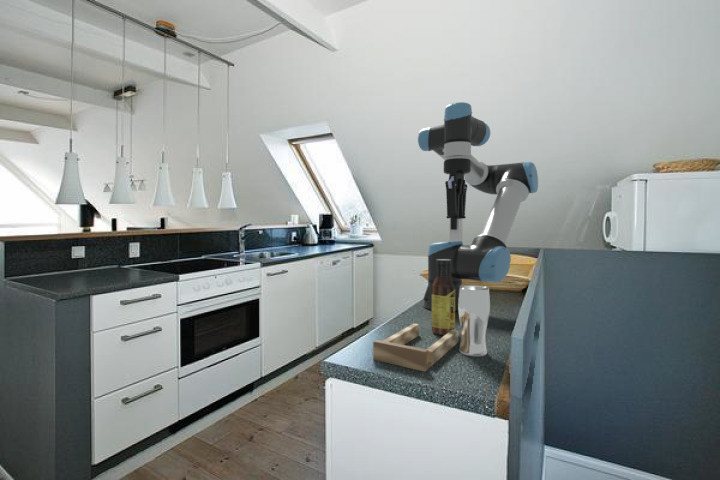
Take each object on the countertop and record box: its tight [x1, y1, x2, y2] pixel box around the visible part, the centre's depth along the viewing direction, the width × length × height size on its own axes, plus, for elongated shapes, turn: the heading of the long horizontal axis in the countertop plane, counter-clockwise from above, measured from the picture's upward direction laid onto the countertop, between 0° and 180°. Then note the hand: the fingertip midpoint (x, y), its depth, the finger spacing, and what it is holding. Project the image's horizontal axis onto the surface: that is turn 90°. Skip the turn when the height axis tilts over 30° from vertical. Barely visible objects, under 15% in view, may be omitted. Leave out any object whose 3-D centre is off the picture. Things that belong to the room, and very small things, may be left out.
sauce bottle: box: [431, 259, 456, 336], centre depth 100 cm, size 6×6×20 cm
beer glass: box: [457, 284, 491, 358], centre depth 85 cm, size 7×7×15 cm
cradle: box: [372, 323, 459, 372], centre depth 87 cm, size 22×12×4 cm, turn 148°
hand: (455, 240), depth 108 cm, fingers open, 2 cm apart
